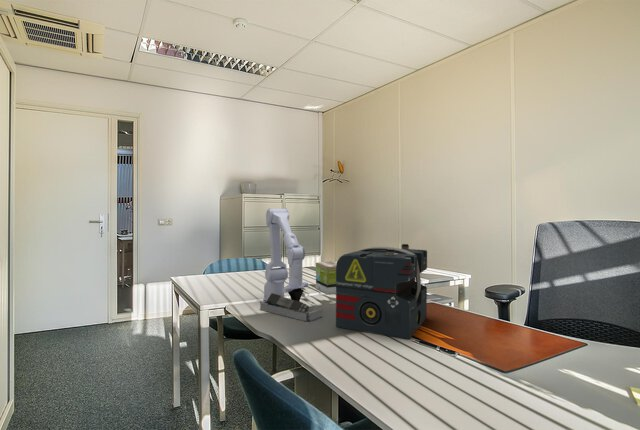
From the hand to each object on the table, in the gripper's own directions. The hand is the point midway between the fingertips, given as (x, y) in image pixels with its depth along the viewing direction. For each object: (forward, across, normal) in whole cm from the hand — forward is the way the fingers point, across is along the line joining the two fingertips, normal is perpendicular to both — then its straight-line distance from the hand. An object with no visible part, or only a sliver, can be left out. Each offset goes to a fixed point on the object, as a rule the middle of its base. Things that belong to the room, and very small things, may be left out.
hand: (295, 306), depth 156 cm
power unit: (+2, +9, -37) cm, 38 cm away
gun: (+1, -1, +1) cm, 2 cm away
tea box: (+2, +40, +11) cm, 41 cm away
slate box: (+2, -3, 0) cm, 4 cm away
